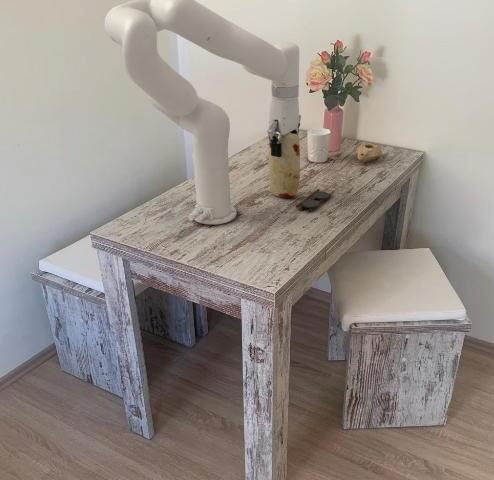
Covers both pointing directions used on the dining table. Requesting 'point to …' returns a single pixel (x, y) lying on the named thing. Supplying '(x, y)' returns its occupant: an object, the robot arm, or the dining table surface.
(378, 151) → the pottery oil lamp
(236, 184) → the dining table surface
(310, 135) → the white cup
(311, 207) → the sunglasses
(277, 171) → the food model
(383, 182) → the dining table surface
